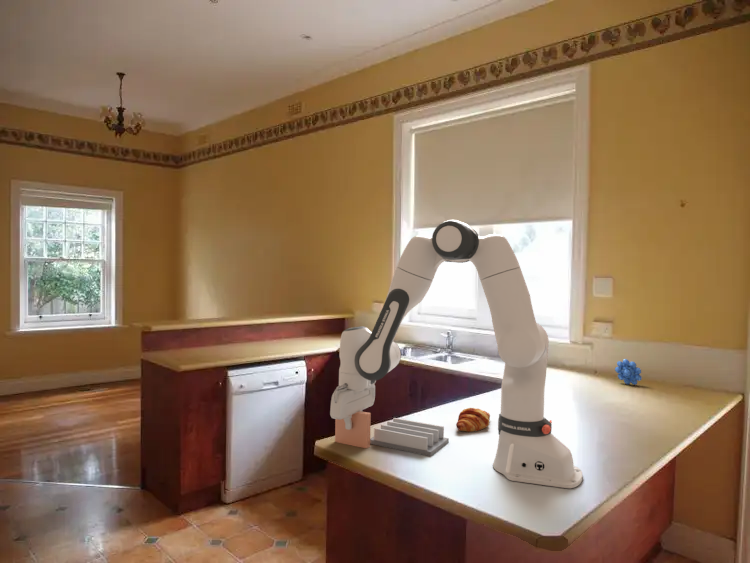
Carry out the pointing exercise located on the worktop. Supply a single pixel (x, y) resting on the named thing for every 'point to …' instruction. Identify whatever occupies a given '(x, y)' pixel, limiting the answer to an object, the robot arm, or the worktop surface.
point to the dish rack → (410, 436)
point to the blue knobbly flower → (628, 372)
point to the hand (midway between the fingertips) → (352, 427)
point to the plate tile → (354, 430)
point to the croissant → (473, 420)
